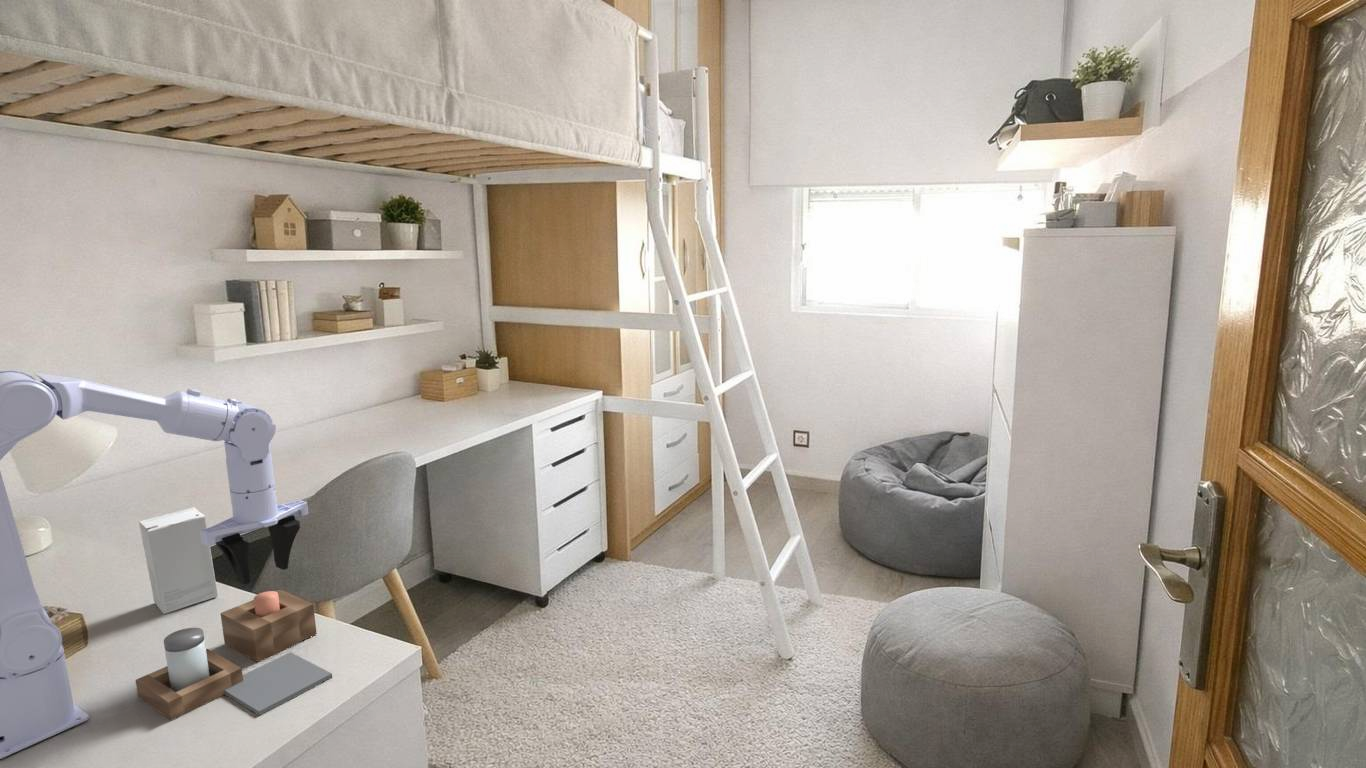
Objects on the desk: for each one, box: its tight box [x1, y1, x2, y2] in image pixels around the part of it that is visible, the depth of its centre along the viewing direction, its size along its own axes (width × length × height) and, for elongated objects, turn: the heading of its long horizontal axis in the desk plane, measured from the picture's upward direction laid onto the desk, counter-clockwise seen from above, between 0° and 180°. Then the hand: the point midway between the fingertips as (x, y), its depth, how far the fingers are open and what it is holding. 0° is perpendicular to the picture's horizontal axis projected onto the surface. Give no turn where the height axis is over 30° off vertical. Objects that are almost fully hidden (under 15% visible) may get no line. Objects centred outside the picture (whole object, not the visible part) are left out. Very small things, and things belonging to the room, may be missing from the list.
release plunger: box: [253, 590, 280, 618], centre depth 114 cm, size 3×3×5 cm
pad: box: [224, 651, 333, 716], centre depth 104 cm, size 10×10×1 cm
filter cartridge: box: [163, 627, 210, 692], centre depth 102 cm, size 4×4×8 cm
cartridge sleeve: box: [135, 648, 244, 721], centre depth 102 cm, size 9×9×2 cm
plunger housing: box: [219, 589, 317, 663], centre depth 115 cm, size 9×9×5 cm
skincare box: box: [138, 506, 219, 615], centre depth 126 cm, size 8×6×15 cm
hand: (263, 574), depth 113 cm, fingers open, 5 cm apart
